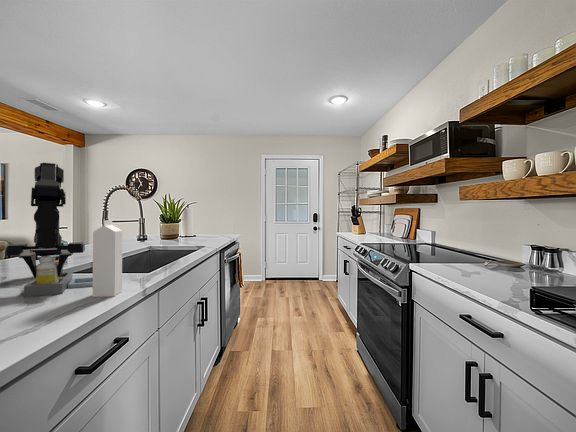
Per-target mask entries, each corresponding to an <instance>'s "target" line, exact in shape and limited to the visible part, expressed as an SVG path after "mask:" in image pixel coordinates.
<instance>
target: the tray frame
mask: <svg viewBox="0 0 576 432" xmlns="http://www.w3.org/2000/svg"><path fill="white" fill-rule="evenodd" d="M81 281H88V282H81ZM87 286H90V287H93V276H92V277H80V278H79V277H78V278H72V280H71V282H70V283H69V284H68V287H67V289H74V287H77V288H87Z"/></svg>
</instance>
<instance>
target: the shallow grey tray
mask: <svg viewBox="0 0 576 432" xmlns="http://www.w3.org/2000/svg"><path fill="white" fill-rule="evenodd" d="M54 262H55V263H57V264H59V260H56V261H54ZM58 278H59V283H51V284H37V285H36V278H34V279H32V280H31V281H29V282H28V283H27V284H25V285H24V286H23V297H24V298H27V297H39V296H41V297H42V296H51V295H52V296H53V295H61V294H62V295H63V294H64V292H65V291H66V290H67V289H68V284H69V283H70V282H71V280H72V279H73V271H69V272H68V271H67V272H65V271H64V268H63V269H62V272H61V274H60V276H58Z"/></svg>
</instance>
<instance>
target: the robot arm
mask: <svg viewBox="0 0 576 432" xmlns="http://www.w3.org/2000/svg"><path fill="white" fill-rule="evenodd" d="M64 173H65V171H64V169H63V168H61V167H60V166H59V164H57V163H55V162H54V163H52V162H40V163H39V165H38V166H36V167H35V168H34V181H35V183H34V187H31V196H30V198H31V199H30V207H37V208H36V210H35V213H33V220H34V222H35V229H34V230H35V232H34V237H33V242H34V243H35V245H29V246H28V243H12V244H9V245H7V246H6V247H5V249H4V255H5V256H7V257H8V256H18V258H19V259H23V261H24V262H25V264H26V265H27V266H28V268H29V269H30V272H31V274H32V277H34V279H35V278H36V266H37V261H39V257H41V256H55V261H56V260H59V264H58V276H60V274H61V272H62V269H63V270H64V266H65V263H66V262H67V260H68V258H69V257H71V256H73V255H74V254H81V253H84V252H85V251H86V250H85V249H86V246H85V245H86V244H85V243H84V241H83V242H79V241H78V242H69V243H67V244H64V242H62V239H63V238H62V237H63V236H62V235H61V234H60V210H59V209H58V208H63V207H64V205H66V204H67V203H66V202H67V201H66V192H65V189H64V188H62V184H64V180H65V179H64Z"/></svg>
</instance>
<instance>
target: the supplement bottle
mask: <svg viewBox="0 0 576 432" xmlns="http://www.w3.org/2000/svg"><path fill="white" fill-rule="evenodd" d="M55 256H56V255H52V256H38V257H39V260H38V262H39V263H38V264H36V285H37V284H51V283H59V278H58V264H57V263H55V262H54V261H55Z"/></svg>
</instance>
